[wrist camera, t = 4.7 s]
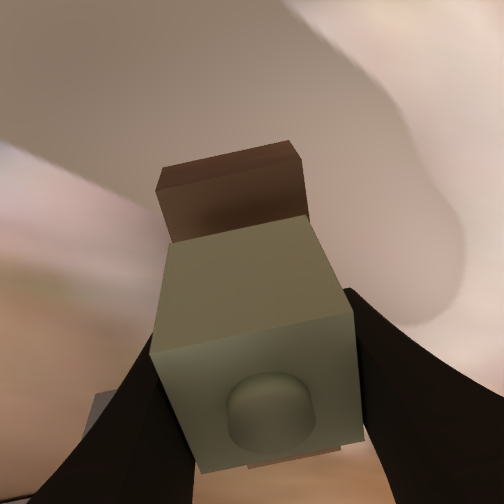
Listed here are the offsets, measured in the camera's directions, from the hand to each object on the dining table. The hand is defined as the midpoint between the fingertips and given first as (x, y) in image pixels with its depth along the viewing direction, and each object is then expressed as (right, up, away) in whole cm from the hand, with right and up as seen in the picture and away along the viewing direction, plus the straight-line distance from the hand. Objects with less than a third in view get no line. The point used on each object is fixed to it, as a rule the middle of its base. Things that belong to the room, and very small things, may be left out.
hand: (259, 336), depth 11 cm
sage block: (0, +1, +2) cm, 2 cm away
